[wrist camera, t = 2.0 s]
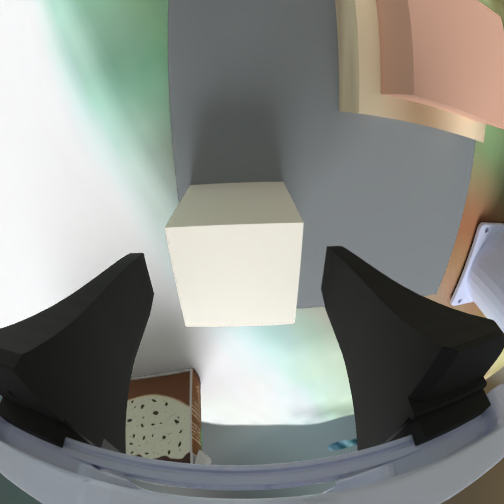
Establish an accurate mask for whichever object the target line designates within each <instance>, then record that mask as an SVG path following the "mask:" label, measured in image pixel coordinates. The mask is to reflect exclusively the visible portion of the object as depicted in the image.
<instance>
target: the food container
mask: <svg viewBox="0 0 504 504" xmlns="http://www.w3.org/2000/svg"><path fill="white" fill-rule="evenodd" d="M126 454H128V455H133V456H138V457H144V458H149V459H156V460H163V461H170V462H179V463H189V464H203V465H210V463H211V459H210V458H209V456H207V454H205V453H204V452H202V435H201V395H200V379H199V376H198V374H197V373H196V371H195V370H194V369H193V368H189V369H184V370H178V371H172V372H167V373H161V374H154V375H148V376H141V377H133V378H131V380H130V386H129V393H128V402H127V413H126ZM134 480H136V479H134ZM138 481H141V480H138ZM142 482H146V481H142ZM147 483H151V482H147ZM152 484H157V483H152ZM158 485H163V484H158ZM164 486H169V485H164ZM174 487H177V486H174Z"/></svg>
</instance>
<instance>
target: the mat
mask: <svg viewBox="0 0 504 504" xmlns="http://www.w3.org/2000/svg"><path fill="white" fill-rule="evenodd" d="M168 73H169V97H170V115H171V129H172V142H173V153H174V163H175V173H176V182H177V191H178V199H179V203H180V201H181V200H182V198H183V196H184V195H185V193H186V191H187V190H188V188H189V187H190V185H200V184H218V183H241V182H284V184H285V186H286V188H287V190H288V192H289V194H290V196H291V198H292V200H293V202H294V204H295V206H296V208H297V210H298V212H299V214H300V216H301V218H302V220H303V222H304V225H303V239H302V252H301V264H300V275H299V286H298V296H297V306H296V309H298V308H313V307H325V304H324V300H323V296H322V291H321V284H322V278H323V271H324V264H325V256H326V249H327V246H343V247H344V248H346V249H348V250H349V251H351V252H352V253H354V254H355V255H357V256H358V257H360V258H361V259H362V260H364V261H365V262H367V263H368V264H370V265H371V266H373V267H374V268H375V269H377V270H378V271H380V272H381V273H383V274H384V275H386V276H388V277H389V278H391V279H392V280H394V281H396V282H397V283H399V284H401V285H402V286H404V287H406V288H408V289H410V290H412V291H413V292H415V293H417V294H419V295H421V296H426V295H433V294H436V293H437V291H438V288H439V286H440V283H441V281H442V278H443V275H444V273H445V270H446V267H447V264H448V262H449V259H450V256H451V253H452V250H453V246H454V243H455V240H456V237H457V233H458V230H459V226H460V222H461V218H462V215H463V210H464V206H465V202H466V197H467V193H468V188H469V183H470V177H471V171H472V165H473V158H474V150H475V141H476V140H474V139H471V138H468V137H465V136H462V135H458V134H455V133H451V132H448V131H444V130H441V129H437V128H433V127H429V126H425V125H420V124H416V123H411V122H407V121H402V120H396V119H391V118H385V117H379V116H373V115H366V114H359V113H351V112H342V111H339V55H338V32H337V16H336V4H335V0H169V7H168Z"/></svg>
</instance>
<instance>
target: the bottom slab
mask: <svg viewBox="0 0 504 504" xmlns="http://www.w3.org/2000/svg"><path fill="white" fill-rule="evenodd" d="M335 4H336V16H337V32H338V55H339V111H342V112H351V113H359V114H366V115H373V116H379V117H385V118H391V119H396V120H402V121H407V122H411V123H416V124H420V125H425V126H429V127H433V128H437V129H441V130H444V131H448V132H451V133H455V134H458V135H462V136H465V137H468V138H471V139H474V140H477V141H480V142H483V143H484V135H485V124H484V123H480V122H477V121H473V120H471V119H468V118H465V117H463V116H460V115H457V114H454V113H451V112H448V111H445V110H442V109H439V108H436V107H432V106H429V105H425V104H422V103H418V102H414V101H410V100H406V99H402V98H398V97H393V96H388V95H384V94H381V58H380V38H379V25H378V15H377V6H376V0H335Z"/></svg>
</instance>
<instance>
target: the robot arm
mask: <svg viewBox="0 0 504 504" xmlns="http://www.w3.org/2000/svg"><path fill="white" fill-rule="evenodd" d="M321 291H322V296H323V300H324V304H325V308H326V311H327V314H328V317H329V319H330V322H331V325H332V327H333V330H334V333H335V335H336V338H337V341H338V343H339V346H340V349H341V351H342V354H343V358H344V361H345V365H346V369H347V374H348V378H349V383H350V389H351V394H352V400H353V406H354V414H355V422H356V433H357V447H358V451H355V452H351V453H346V454H341V455H336V456H332V457H326V458H320V459H314V460H306V461H299V462H290V463H279V464H266V465H203V464H189V463H179V462H170V461H163V460H156V459H149V458H144V457H138V456H133V455H128V454H126V413H127V402H128V393H129V386H130V380H131V374H132V368H133V364H134V360H135V357H136V354H137V351H138V348H139V345H140V342H141V339H142V336H143V333H144V330H145V327H146V324H147V321H148V318H149V315H150V311H151V307H152V302H153V297H154V292H153V288H152V285H151V281H150V277H149V274H148V270H147V266H146V262H145V258H144V254H143V253H130V254H128V255H126V256H125V257H123V258H121V259H120V260H119V261H117V262H116V263H114V264H113V265H112V266H110V267H109V268H108V269H106V270H105V271H104V272H102V273H101V274H100V275H98V276H97V277H96V278H94V279H93V280H91V281H90V282H89V283H87V284H86V285H84V286H83V287H82V288H80V289H79V290H77V291H76V292H74V293H73V294H71V295H70V296H68V297H67V298H65V299H63V300H62V301H60V302H58V303H57V304H55V305H53V306H51V307H50V308H48V309H46V310H44V311H42V312H40V313H38V314H36V315H34V316H32V317H30V318H27V319H25V320H23V321H20V322H18V323H15V324H13V325H10V326H7V327H4V328H1V329H0V395H1V396H2V397H3V398H2V400H1V403H0V473H1V474H2V475H4V476H5V477H6V478H7V479H9V480H10V481H11V482H13V483H14V484H15V485H16V486H18V487H19V488H20V489H22V490H23V491H25V492H26V493H28V494H29V495H30V496H32V497H34V498H35V499H37V500H38V501H40V502H41V503H43V504H441V503H443V502H444V501H446V500H448V499H449V498H451V497H452V496H454V495H455V494H457V493H458V492H460V491H461V490H463V489H464V488H466V487H467V486H469V485H470V484H471V483H473V482H474V481H475V480H477V479H478V478H479V477H481V476H482V475H483V474H484V473H486V472H487V471H488V470H489V469H490V468H492V467H493V466H494V465H495V464H496V463H498V462H499V461H500V460H501V459H502V458H503V457H504V383H502V384H501V385H499V386H497V387H495V388H494V389H492V390H491V391H490V392H489V393H487V394H485V392H484V390H483V388H484V387H485V386H486V383H487V382H486V380H485V379H484V377H483V376H484V375H485V374H486V373H487V371H488V370H489V369H490V367H491V366H492V365H493V364H494V362H495V361H496V360H497V358H498V357H499V355H500V354H501V352H502V350H503V348H504V223H489V222H482V223H480V224H479V225H478V228H477V231H476V235H475V238H474V241H473V244H472V247H471V250H470V253H469V256H468V259H467V262H466V264H465V267H464V270H463V272H462V275H461V277H460V280H459V282H458V285H457V287H456V289H455V292H454V294H453V296H452V298H451V301H450V302H451V304H452V305H453V306H455V305H460V304H465V303H469V302H473V301H474V302H475V304H476V305H477V306H478V307H479V309H480V310H481V311H482V312H483V314H484V315H485V316H486V317H487V318H483V317H479V316H475V315H471V314H467V313H464V312H461V311H458V310H455V309H452V308H449V307H447V306H444V305H442V304H439V303H437V302H435V301H432V300H430V299H428V298H425V297H423V296H421V295H419V294H417V293H415V292H413V291H412V290H410V289H408V288H406V287H404V286H402V285H401V284H399V283H397V282H396V281H394V280H392V279H391V278H389V277H388V276H386V275H384V274H383V273H381V272H380V271H378V270H377V269H375V268H374V267H373V266H371V265H370V264H368V263H367V262H365V261H364V260H362V259H361V258H360V257H358V256H357V255H355V254H354V253H352V252H351V251H349V250H348V249H346V248H344V247H343V246H327V249H326V256H325V264H324V271H323V278H322V284H321ZM107 472H108V473H107ZM110 473H112V474H115V475H119V476H123V477H127V478H131V479H136V480H141V481H146V482H151V483H157V484H163V485H169V486H177V487H186V488H196V489H210V490H263V489H278V488H288V487H296V486H304V485H311V484H318V483H323V482H328V481H334V480H339V479H343V478H346V479H343V480H339V481H337V482H336V483H335V486H334V487H333V488H331V489H329V490H326V491H324V492H323V493H321V494H314V495H305V496H296V497H283V498H265V499H219V498H202V497H191V496H180V495H172V494H164V493H157V492H151V491H149V490H146V489H143V488H141V487H139V486H137V485H134V484H133V483H131V482H130V481H129V480H127V479H124V478H121V477H118V476H115V475H112V474H110ZM347 477H349V478H347Z"/></svg>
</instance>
